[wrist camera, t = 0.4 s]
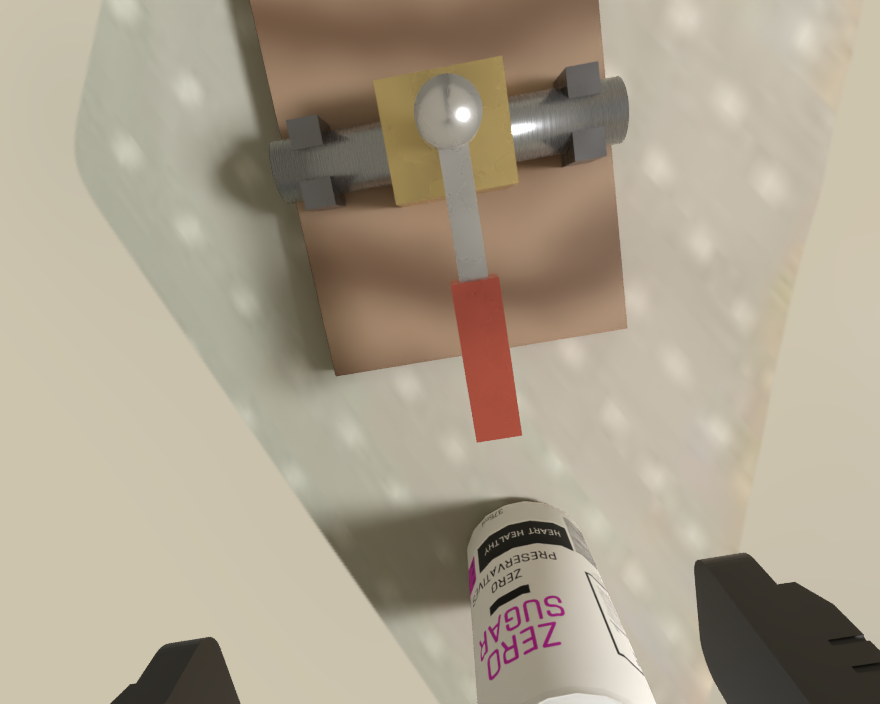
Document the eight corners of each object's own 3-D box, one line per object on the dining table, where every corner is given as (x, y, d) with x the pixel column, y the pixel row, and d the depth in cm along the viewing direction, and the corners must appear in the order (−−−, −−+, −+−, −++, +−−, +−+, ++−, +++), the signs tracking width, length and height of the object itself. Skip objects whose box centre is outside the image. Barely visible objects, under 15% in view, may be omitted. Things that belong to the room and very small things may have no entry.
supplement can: (547, 614, 38) (610, 854, 24) (446, 569, 38) (448, 790, 23) (604, 525, 37) (710, 726, 22) (500, 477, 36) (538, 652, 21)
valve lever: (410, 91, 21) (408, 80, 20) (474, 78, 21) (476, 67, 19) (468, 429, 25) (470, 443, 23) (523, 420, 25) (528, 434, 23)
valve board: (244, -54, 28) (233, -68, 27) (578, -123, 27) (585, -142, 26) (340, 369, 34) (335, 376, 33) (619, 323, 33) (627, 328, 32)
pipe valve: (283, 126, 30) (219, 88, 21) (598, 66, 29) (662, 2, 21) (305, 225, 31) (253, 227, 23) (607, 171, 30) (671, 151, 22)
